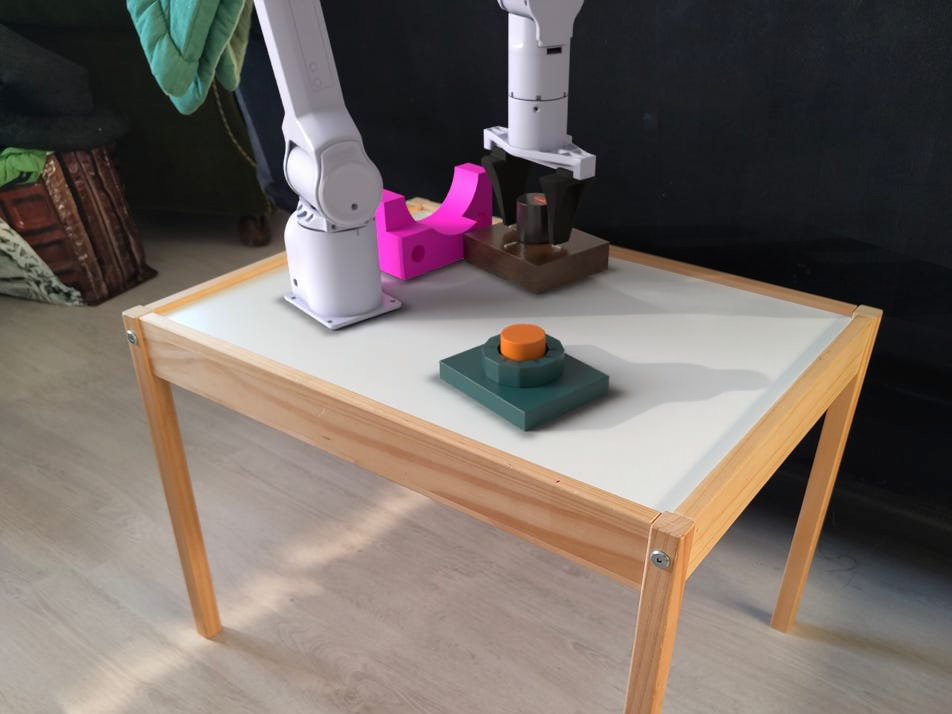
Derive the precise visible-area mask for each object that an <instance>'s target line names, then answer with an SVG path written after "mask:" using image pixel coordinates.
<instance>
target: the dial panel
mask: <svg viewBox="0 0 952 714" xmlns="http://www.w3.org/2000/svg"><path fill="white" fill-rule="evenodd" d="M610 245H611V242H610V241H608V240H606V239H603V238H600V237H598V236H596V235H593V234H590V233H587V232H585V231H582V230H580V229H577V228H575V227H573V228H572V231H571V235H570V238H569V241H568V242H565V243H562V244H559V245H556V246H554V245H552V244H550V242H546V243H541V244H530V243H525V242H521V241H519V240H518V239H517V237H516V224H513V225H510V226H506V225H504V224H503V221H501V222H497V223H492V225H490V226H487V227H483V228H480V229H476V230H473V231H470V232H466V233H463V249H464V259H463V261H464V262H467V263H469V264H471V265H473V266H475V267H478V268H479V269H482V270H483V271H486V272H488V273H490V274H492V275H495V276H497V277H499V278H500V279H503V280H505V281H506V282H509V283H512V284H513V285H516V286H517V287H520V288H521V289H523V290H526V291H528V292H531V293H533V294H535V295H540V294H542V293H546V292H548V291H551V290H553V289H556V288H559V287H562V286H565V285H568V284H571V283H573V282H576V281H579V280H582V279H584V278H587V277H590V276H593V275H596V274H598V273H602V272H604V271H607V270H608V269H609V261H610Z"/></svg>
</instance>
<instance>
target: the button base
mask: <svg viewBox="0 0 952 714" xmlns="http://www.w3.org/2000/svg"><path fill="white" fill-rule="evenodd" d="M439 379H441V380H442V381H444V382H445V383H447V384H448V385H450V386H451V387H453V388H455V389H456V390H458V391H459V392H461V393H463V394H465V396H467V397H469V398H471V399H473V400H474V401H475V402H477V403H478V404H480V405H482V406H483V407H484V408H486V409H488V410H490V411H491V412H493V413H494V414H496V415H498V416H499V417H501V418H503V420H506V421H507V422H509V423H510V424H512V425H514V426H515V427H517V428H518V429H520V430H521V431H523V432H527V431H530V430H531V429H534V428H536V427H538V426H541V425H543V424H544V423H547V422H549V421H552V420H554V419H556V418H558V417H560V416H562V415H564V414H567V413H569V412H572V411H573V410H576V409H578V408H580V407H582V406H584V405H587V404H589V403H591V402H594V401H595V400H598V399H600V398H602V397H604V396H607V395H608V394H609V385H610V375H609V374H606V373H605V372H603V371H601V370H599V369H597V368H595V367H593V366H591V365H589V364H587V363H586V362H584V361H582V360H580V359H578V358H576V357H574V356H572V355H570V354H568V353H566V350H565V348H564V346H563V344H562V342H561V340H559V339H557V338H555V337H554V336H552V335H550V334H548V333H546V344H545V355H544V356H543V357H541V358H538V359H536V360H526V361H517V360H512V359H507V358H506V357H504V356H502V354H501V333H498V334H496V335H494V336H490V337H489V338H488V339H487V340H486V341H485V343H483V344H479V345H476V346H475V347H472V348H469V349H467V350H464V351H461V352H458V353H455V354H454V355H451V356H448V357H446V358H443V359H440V360H439Z"/></svg>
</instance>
